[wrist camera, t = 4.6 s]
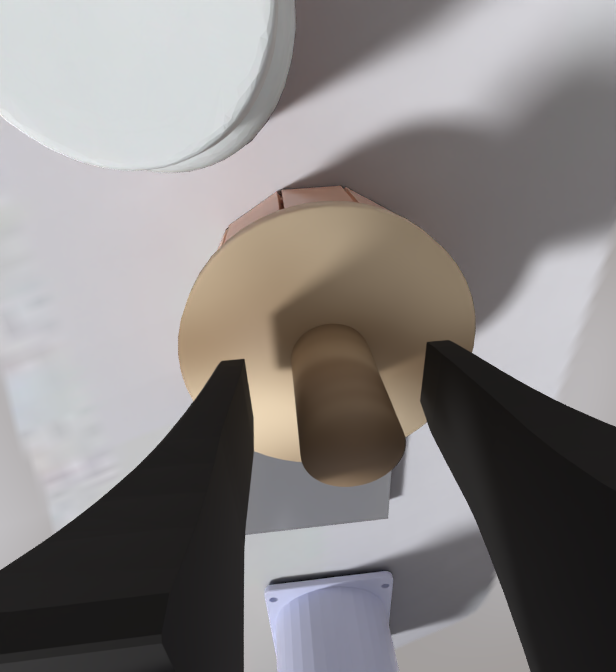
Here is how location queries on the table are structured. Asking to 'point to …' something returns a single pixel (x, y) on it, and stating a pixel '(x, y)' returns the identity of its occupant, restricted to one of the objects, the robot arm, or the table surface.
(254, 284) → the lid
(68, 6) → the pill bottle
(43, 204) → the table surface
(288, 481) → the coaster
